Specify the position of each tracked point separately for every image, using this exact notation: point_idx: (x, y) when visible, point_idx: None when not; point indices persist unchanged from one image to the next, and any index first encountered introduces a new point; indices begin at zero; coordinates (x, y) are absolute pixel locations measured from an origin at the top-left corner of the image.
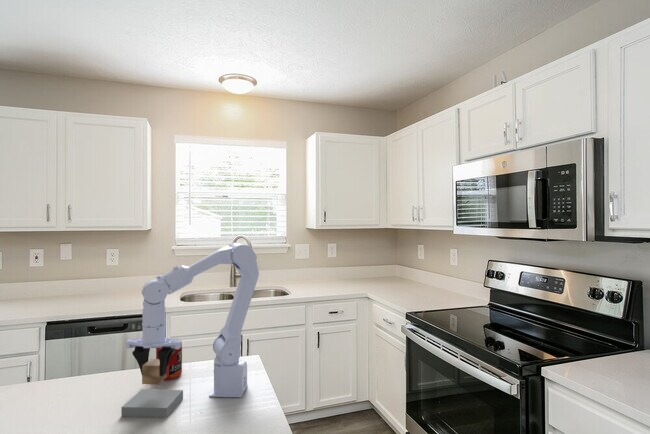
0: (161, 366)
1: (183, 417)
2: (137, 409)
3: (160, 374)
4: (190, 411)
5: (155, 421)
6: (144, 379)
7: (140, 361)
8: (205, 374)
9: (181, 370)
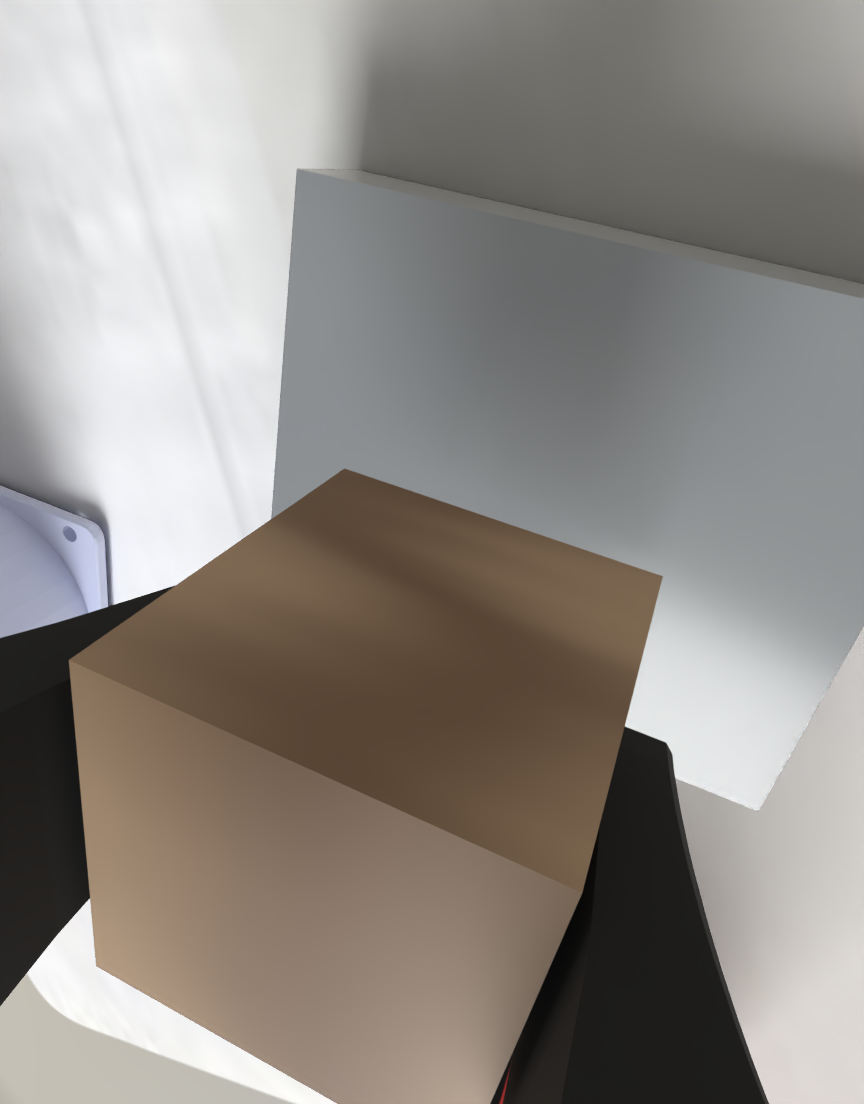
0: (47, 650)
1: (191, 148)
2: (729, 263)
3: None
4: (168, 278)
5: (469, 88)
6: (594, 607)
7: (631, 1087)
8: None
9: None
